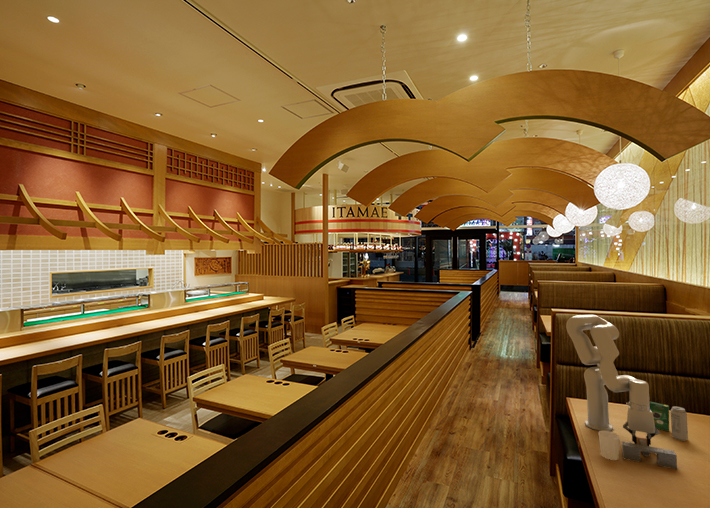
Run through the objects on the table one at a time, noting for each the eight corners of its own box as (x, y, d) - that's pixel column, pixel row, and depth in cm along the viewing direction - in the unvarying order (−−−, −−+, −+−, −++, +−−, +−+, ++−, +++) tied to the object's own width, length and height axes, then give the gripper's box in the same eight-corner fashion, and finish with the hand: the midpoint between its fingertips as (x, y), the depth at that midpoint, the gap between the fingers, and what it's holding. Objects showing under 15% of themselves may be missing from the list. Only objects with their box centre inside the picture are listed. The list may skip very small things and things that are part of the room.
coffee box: (670, 430, 188) (669, 405, 189) (669, 432, 186) (668, 406, 187) (650, 425, 194) (649, 401, 194) (649, 427, 192) (648, 402, 192)
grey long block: (622, 454, 166) (621, 441, 166) (674, 464, 157) (673, 450, 157) (623, 458, 162) (623, 445, 162) (677, 469, 153) (676, 455, 153)
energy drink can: (691, 441, 176) (689, 411, 176) (677, 441, 177) (675, 410, 177) (682, 436, 182) (681, 406, 182) (669, 435, 183) (667, 405, 183)
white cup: (616, 453, 167) (615, 431, 167) (623, 462, 159) (622, 439, 160) (596, 451, 169) (596, 429, 170) (602, 459, 162) (601, 437, 162)
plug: (634, 441, 177) (634, 433, 177) (645, 443, 175) (645, 435, 175) (640, 455, 164) (639, 446, 165) (652, 457, 162) (652, 448, 162)
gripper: (619, 406, 174) (621, 444, 174) (664, 412, 166) (666, 452, 166) (617, 400, 181) (618, 437, 180) (660, 406, 173) (661, 445, 172)
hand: (641, 444), depth 173 cm, fingers closed on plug, 4 cm apart
